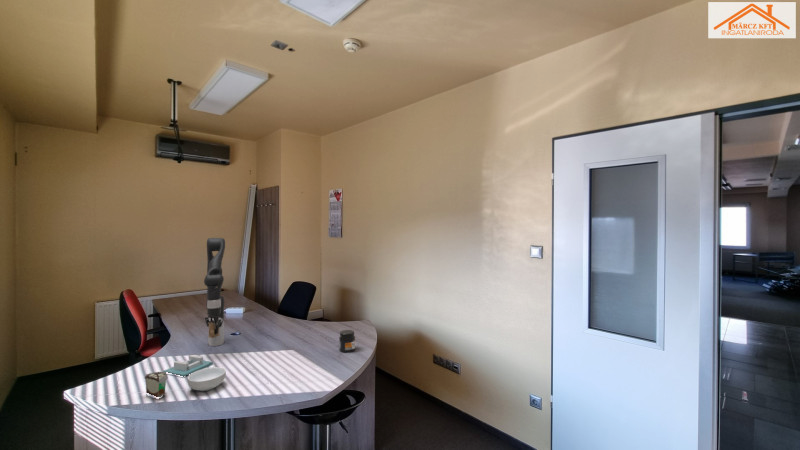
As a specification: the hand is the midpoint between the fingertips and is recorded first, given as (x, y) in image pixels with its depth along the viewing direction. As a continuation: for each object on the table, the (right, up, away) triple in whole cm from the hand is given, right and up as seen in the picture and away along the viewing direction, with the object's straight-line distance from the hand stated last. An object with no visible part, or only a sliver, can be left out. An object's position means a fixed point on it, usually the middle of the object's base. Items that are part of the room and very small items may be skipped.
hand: (214, 333), depth 203 cm
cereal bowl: (+19, -15, -38) cm, 45 cm away
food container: (-1, -15, -45) cm, 48 cm away
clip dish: (-5, -15, -16) cm, 23 cm away
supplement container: (+82, -15, +10) cm, 84 cm away
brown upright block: (0, -2, 0) cm, 2 cm away
